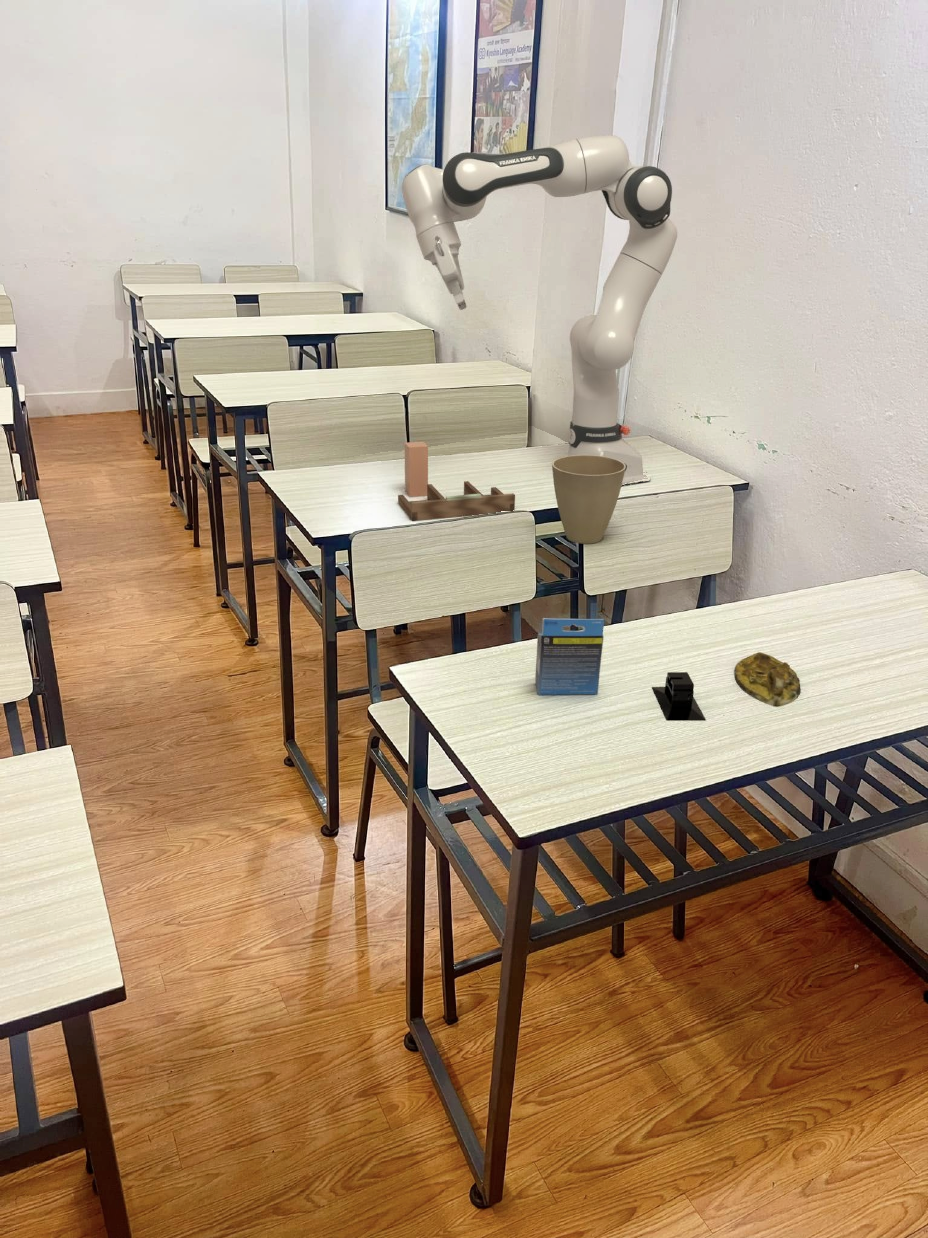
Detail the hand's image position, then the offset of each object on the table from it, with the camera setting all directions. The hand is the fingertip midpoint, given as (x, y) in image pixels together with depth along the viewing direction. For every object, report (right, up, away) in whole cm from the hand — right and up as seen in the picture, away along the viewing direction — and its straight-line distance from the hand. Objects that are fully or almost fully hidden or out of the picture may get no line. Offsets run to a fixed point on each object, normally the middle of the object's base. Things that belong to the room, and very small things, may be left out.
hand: (461, 305), depth 200 cm
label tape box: (+15, -81, -69) cm, 107 cm away
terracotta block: (-11, -40, +15) cm, 44 cm away
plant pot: (+26, -53, -11) cm, 60 cm away
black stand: (+31, -83, -72) cm, 114 cm away
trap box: (-1, -44, +6) cm, 45 cm away
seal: (+46, -80, -66) cm, 113 cm away
